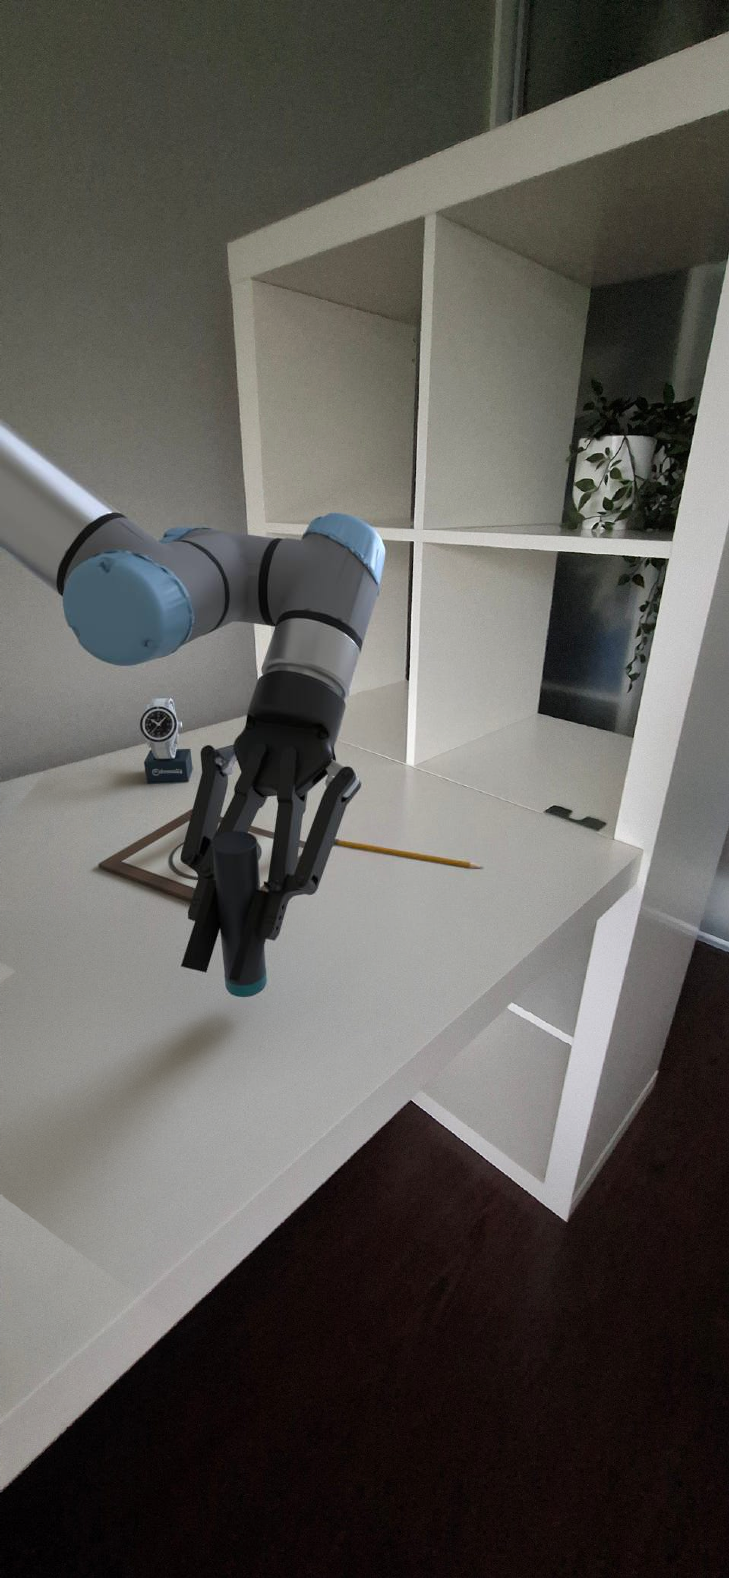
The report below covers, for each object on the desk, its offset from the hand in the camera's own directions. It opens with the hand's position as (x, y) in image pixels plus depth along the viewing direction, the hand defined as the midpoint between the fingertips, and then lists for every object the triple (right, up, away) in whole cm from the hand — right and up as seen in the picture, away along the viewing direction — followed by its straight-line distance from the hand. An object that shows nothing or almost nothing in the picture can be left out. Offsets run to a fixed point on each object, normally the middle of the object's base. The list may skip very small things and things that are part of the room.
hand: (217, 974), depth 50 cm
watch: (-16, +15, +46) cm, 51 cm away
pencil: (+15, +6, +28) cm, 32 cm away
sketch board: (-6, +6, +26) cm, 27 cm away
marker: (+1, -2, +5) cm, 6 cm away
